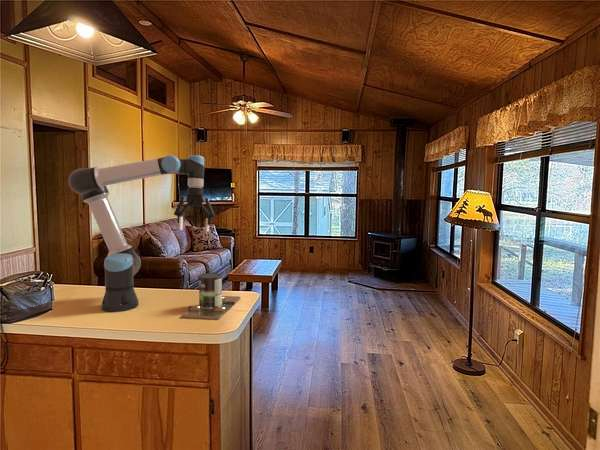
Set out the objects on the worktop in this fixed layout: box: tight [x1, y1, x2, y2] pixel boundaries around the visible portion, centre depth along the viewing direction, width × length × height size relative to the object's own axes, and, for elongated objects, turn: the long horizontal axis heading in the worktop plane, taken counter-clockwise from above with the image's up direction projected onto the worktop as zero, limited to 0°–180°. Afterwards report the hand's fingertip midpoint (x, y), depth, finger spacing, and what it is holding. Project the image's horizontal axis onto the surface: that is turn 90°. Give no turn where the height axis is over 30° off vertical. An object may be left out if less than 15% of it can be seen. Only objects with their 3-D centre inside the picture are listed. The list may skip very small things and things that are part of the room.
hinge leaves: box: [181, 295, 241, 320], centre depth 178 cm, size 16×31×3 cm, turn 172°
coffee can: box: [198, 272, 223, 309], centre depth 179 cm, size 10×10×14 cm
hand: (193, 230), depth 195 cm, fingers open, 13 cm apart
